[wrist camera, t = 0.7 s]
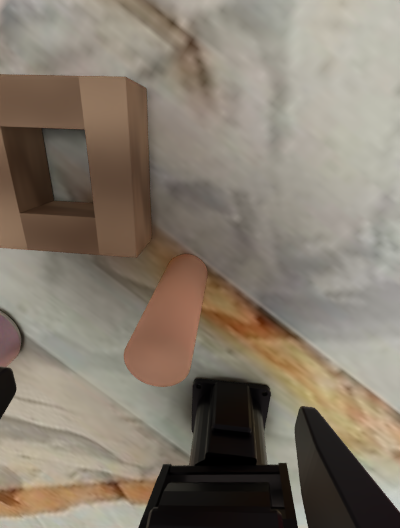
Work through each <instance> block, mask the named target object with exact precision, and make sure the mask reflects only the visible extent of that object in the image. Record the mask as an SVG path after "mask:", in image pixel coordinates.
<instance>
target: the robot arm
mask: <svg viewBox="0 0 400 528" xmlns="http://www.w3.org/2000/svg"><path fill="white" fill-rule="evenodd" d="M198 384H199V385H198ZM15 393H16V383H15V379H14V375H13V371H12V369H11V368H7V367H0V419H1V417H2V415H3V414H4V412H5V410H6V409H7V407H8V405H9V404H10V402H11V400H12V399H13V397H14V395H15ZM270 396H271V392H270V388H269V387H268V386H264V385H254V384H245V383H236V382H226V381H217V380H207V379H195V380H194V383H193V400H192V432H193V441H192V448H191V456H190V463H189V466H172V465H171V464H163V467H162V469H161V472H160V474H159V476H158V478H157V481H156V483H155V486H154V488H153V491H152V494H151V496H150V499H149V501H148V504H147V507H146V509H145V512H144V514H143V517H142V520H141V522H140V525H139V527H138V528H298V526H297V520H296V514H295V509H294V503H293V497H292V492H291V486H290V480H289V475H288V469H287V463H278V464H279V465H267V456H266V446H265V437H264V429H265V423H266V418H267V412H268V407H269V401H270ZM295 441H296V450H297V459H298V468H299V477H300V486H301V494H302V499H303V504H304V509H305V514H306V519H307V524H308V528H400V512H399V511H398V509H397V508H396V507H395V506H394V505H393V503H392V502H391V501H390V500H389V498H388V497H387V496H386V495H385V493H384V492H383V491H382V490H381V488H380V487H379V486H378V485H377V484H376V482H375V481H374V480H373V479H372V477H371V476H370V475H369V474H368V472H367V471H366V470H365V469H364V467H363V466H362V465H361V464H360V463H359V461H358V460H357V459H356V458H355V456H354V455H353V454H352V453H351V451H350V450H349V449H348V448H347V446H346V445H345V444H344V443H343V442H342V440H341V439H340V438H339V437H338V435H337V434H336V433H335V432H334V430H333V429H332V428H331V427H330V425H329V424H328V423H327V422H326V421H325V419H324V418H323V417H322V416H321V414H320V413H319V412H318V411H317V410H316V409H315V408H313V407H305V406H302V407H300V409H299V412H298V416H297V420H296V424H295Z"/></svg>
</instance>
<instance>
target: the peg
mask: <svg viewBox="0 0 400 528" xmlns="http://www.w3.org/2000/svg"><path fill="white" fill-rule="evenodd" d="M207 276H208V272H207V268H206V266H205V264H204V263H203V261H202V260H200V259H199V258H198V257H196V256H193V255H190V254H182V255H178V256H176V257H174V258H173V259H172V260H171V261H170V262H169V264H168V266H167V268H166V270H165V272H164V274H163V276H162V278H161V280H160V282H159V284H158V285H157V287H156V289H155V291H154V293H153V295H152V297H151V299H150V301H149V303H148V305H147V307H146V309H145V311H144V313H143V315H142V317H141V319H140V321H139V323H138V325H137V327H136V329H135V330H134V332H133V334H132V336H131V338H130V340H129V342H128V344H127V346H126V348H125V351H124V361H125V364H126V366H127V368H128V370H129V371H130V372H131V374H132V375H134V376H135V377H136V378H137V379H139V380H140V381H142V382H144V383H146V384H149V385H152V386H158V387H167V386H172V385H175V384H178V383H180V382H181V381H183V380H184V379H185V378H186V377H187V375H188V373H189V371H190V368H191V362H192V357H193V352H194V346H195V341H196V336H197V330H198V325H199V319H200V314H201V309H202V303H203V298H204V293H205V287H206V282H207Z"/></svg>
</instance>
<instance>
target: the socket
mask: <svg viewBox="0 0 400 528" xmlns="http://www.w3.org/2000/svg"><path fill="white" fill-rule="evenodd" d="M42 128H54V129H82V130H85V136H86V144H87V153H88V161H89V170H90V178H91V187H92V195H93V203H84V202H67V201H54V198H53V192H52V186H51V180H50V175H49V169H48V163H47V157H46V151H45V146H44V140H43V134H42ZM151 239H152V227H151V200H150V172H149V145H148V118H147V91H146V88H145V87H143V86H141V85H139V84H138V83H136V82H134V81H132V80H130V79H128V78H127V77H107V76H56V75H5V74H0V248H11V249H25V250H38V251H52V252H66V253H80V254H93V255H107V256H121V257H134V258H137V256H138V255H139V254H140V253H141V251H142V250H143V249H144V248H145V246H146V245H147V244H148V243H149V241H150V240H151Z"/></svg>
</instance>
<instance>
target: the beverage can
mask: <svg viewBox="0 0 400 528" xmlns="http://www.w3.org/2000/svg"><path fill="white" fill-rule="evenodd" d="M20 347H21V334H20V331H19V329H18V327H17V325H16V324H15V323H14V321H13V320H12V319H11V318H10V317H8V316H7V315H6V314H5V313H3V312H1V311H0V367H7V366H8V365H9V364H10V363H11V362H12V361H13V360H14V359H15V358H16V357H17V355H18V354H19V351H20Z"/></svg>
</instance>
